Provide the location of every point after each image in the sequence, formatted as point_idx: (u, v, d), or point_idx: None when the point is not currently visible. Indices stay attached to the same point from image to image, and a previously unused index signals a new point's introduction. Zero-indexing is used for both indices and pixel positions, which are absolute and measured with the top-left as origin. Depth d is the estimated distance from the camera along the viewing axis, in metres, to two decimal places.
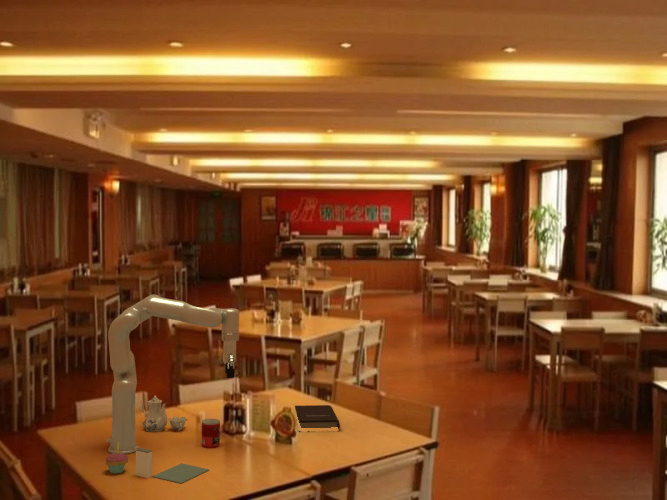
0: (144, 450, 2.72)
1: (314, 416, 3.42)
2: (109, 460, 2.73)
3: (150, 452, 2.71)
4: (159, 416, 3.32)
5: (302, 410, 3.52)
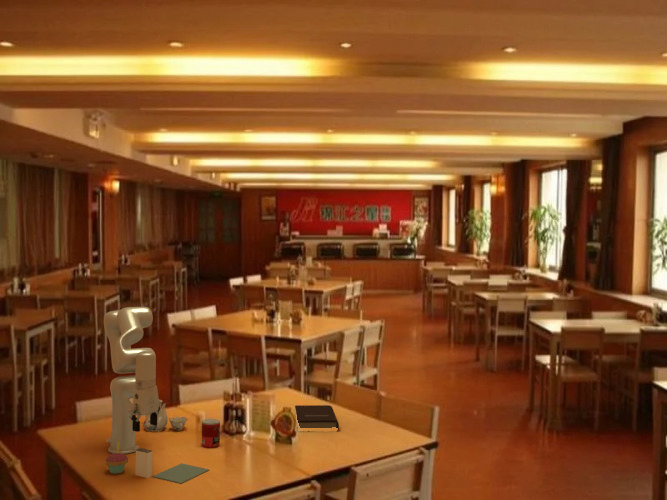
0: (144, 450, 2.72)
1: (313, 416, 3.41)
2: (109, 460, 2.73)
3: (150, 452, 2.71)
4: (159, 416, 3.32)
5: (302, 410, 3.52)
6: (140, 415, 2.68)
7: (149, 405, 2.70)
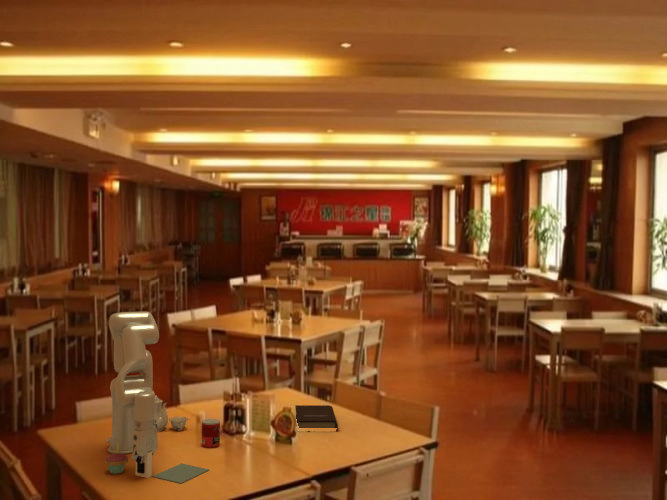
0: None
1: (312, 416, 3.41)
2: (109, 460, 2.73)
3: (150, 452, 2.71)
4: (160, 416, 3.32)
5: (302, 410, 3.52)
6: (143, 456, 2.70)
7: (148, 446, 2.70)
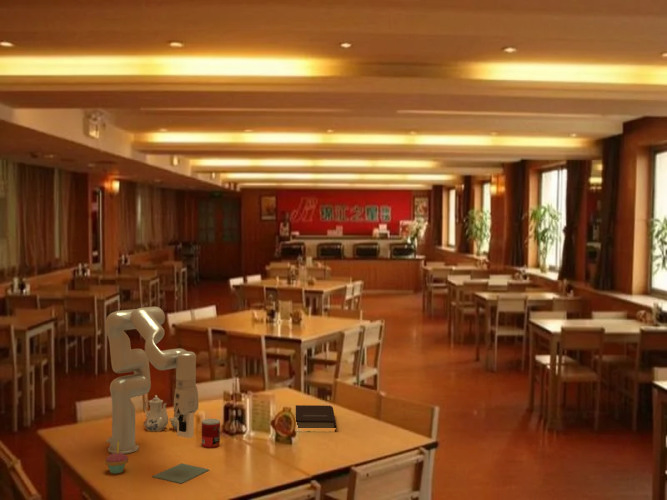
0: None
1: (311, 416, 3.41)
2: (109, 460, 2.73)
3: (192, 412, 2.75)
4: (160, 416, 3.32)
5: (301, 410, 3.52)
6: (184, 415, 2.74)
7: (189, 404, 2.74)
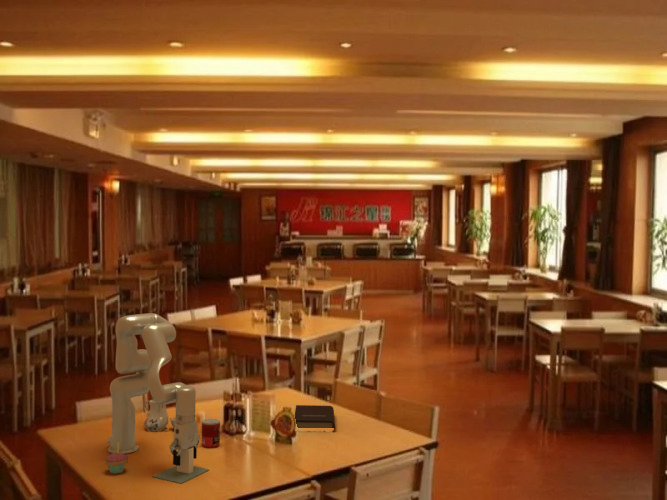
0: None
1: (310, 416, 3.41)
2: (109, 460, 2.73)
3: (191, 448, 2.75)
4: (160, 416, 3.32)
5: (301, 410, 3.53)
6: (180, 449, 2.73)
7: (189, 439, 2.75)
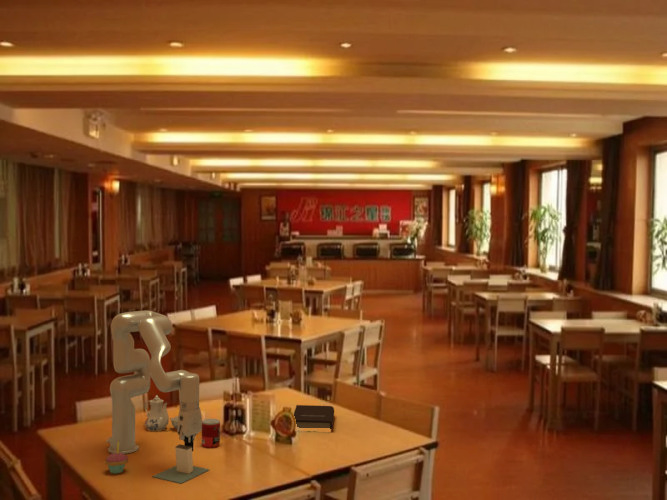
0: (184, 447, 2.75)
1: (308, 416, 3.41)
2: (109, 460, 2.73)
3: (190, 448, 2.74)
4: (161, 416, 3.32)
5: (301, 410, 3.53)
6: (189, 436, 2.77)
7: (193, 426, 2.77)
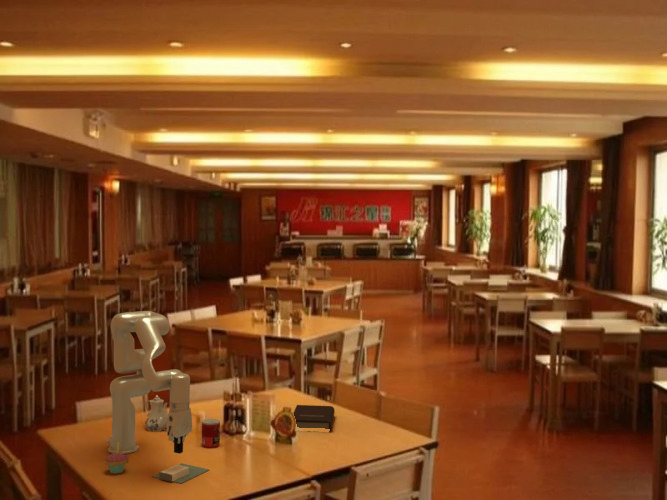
0: (166, 478, 2.66)
1: (308, 416, 3.41)
2: (109, 460, 2.73)
3: (172, 477, 2.66)
4: (161, 416, 3.32)
5: (300, 410, 3.53)
6: (179, 437, 2.72)
7: (183, 427, 2.72)
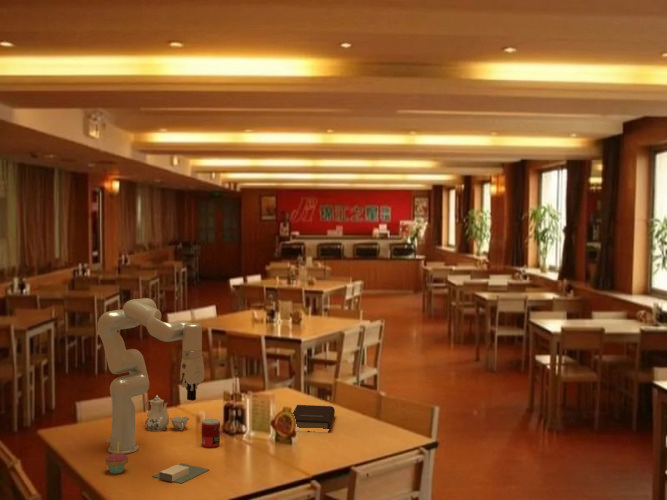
0: (166, 478, 2.66)
1: (307, 416, 3.41)
2: (109, 460, 2.73)
3: (172, 477, 2.66)
4: (161, 415, 3.33)
5: (300, 409, 3.53)
6: (192, 384, 2.80)
7: (196, 375, 2.80)
